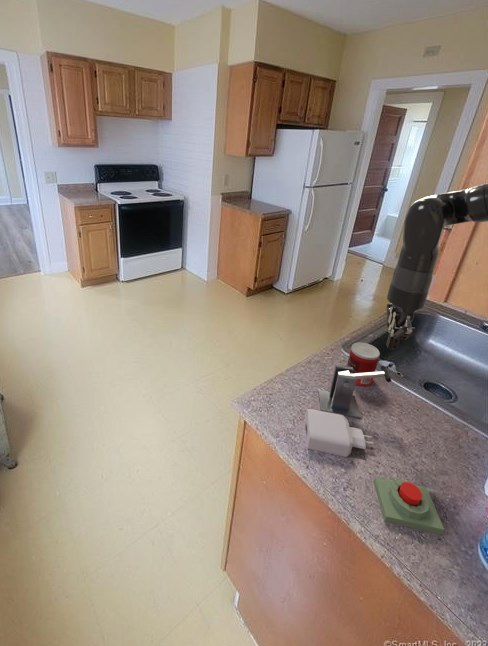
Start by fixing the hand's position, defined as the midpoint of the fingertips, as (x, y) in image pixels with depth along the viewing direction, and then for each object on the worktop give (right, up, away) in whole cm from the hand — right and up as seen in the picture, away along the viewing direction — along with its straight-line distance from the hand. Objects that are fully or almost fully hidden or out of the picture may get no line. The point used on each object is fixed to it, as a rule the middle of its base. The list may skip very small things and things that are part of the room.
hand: (391, 347), depth 80 cm
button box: (-6, -28, -15) cm, 33 cm away
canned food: (+1, -15, +20) cm, 25 cm away
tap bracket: (-9, -19, +10) cm, 23 cm away
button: (-6, -26, -16) cm, 31 cm away
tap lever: (-4, -10, +5) cm, 12 cm away
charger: (-14, -23, -1) cm, 27 cm away
